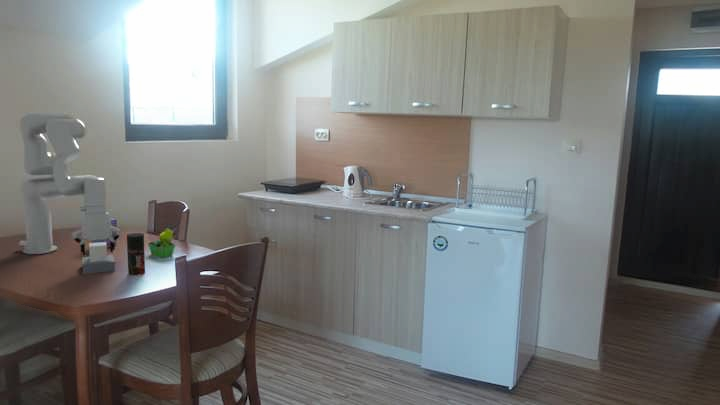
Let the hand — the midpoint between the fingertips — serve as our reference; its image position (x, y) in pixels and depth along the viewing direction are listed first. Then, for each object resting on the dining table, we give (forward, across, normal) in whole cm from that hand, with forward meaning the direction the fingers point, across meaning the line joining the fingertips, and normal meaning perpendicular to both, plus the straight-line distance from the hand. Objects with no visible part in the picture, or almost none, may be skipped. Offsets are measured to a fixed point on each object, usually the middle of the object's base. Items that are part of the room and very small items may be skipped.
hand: (97, 252), depth 205 cm
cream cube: (+3, 0, 0) cm, 3 cm away
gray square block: (+7, 0, 0) cm, 7 cm away
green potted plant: (+6, +25, +12) cm, 29 cm away
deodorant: (+6, +13, -12) cm, 19 cm away
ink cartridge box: (+6, +4, +36) cm, 37 cm away
